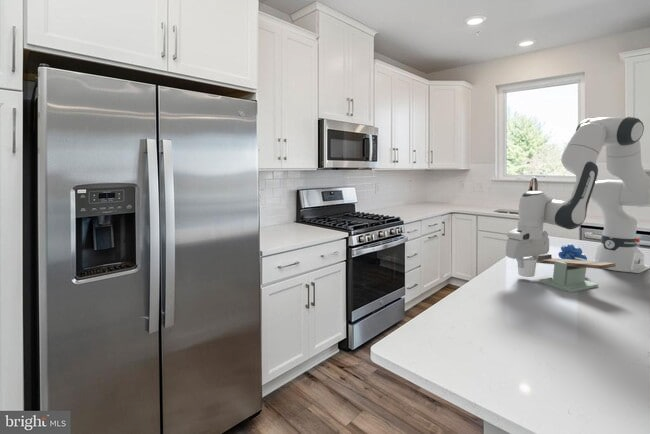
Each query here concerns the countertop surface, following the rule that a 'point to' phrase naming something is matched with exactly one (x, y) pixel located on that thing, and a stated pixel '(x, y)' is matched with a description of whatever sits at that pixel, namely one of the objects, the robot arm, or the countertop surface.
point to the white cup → (528, 267)
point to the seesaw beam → (574, 262)
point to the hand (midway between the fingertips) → (526, 266)
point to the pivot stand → (569, 277)
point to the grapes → (571, 253)
